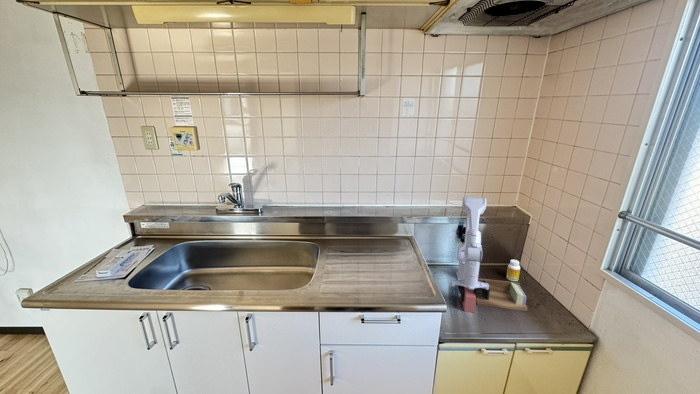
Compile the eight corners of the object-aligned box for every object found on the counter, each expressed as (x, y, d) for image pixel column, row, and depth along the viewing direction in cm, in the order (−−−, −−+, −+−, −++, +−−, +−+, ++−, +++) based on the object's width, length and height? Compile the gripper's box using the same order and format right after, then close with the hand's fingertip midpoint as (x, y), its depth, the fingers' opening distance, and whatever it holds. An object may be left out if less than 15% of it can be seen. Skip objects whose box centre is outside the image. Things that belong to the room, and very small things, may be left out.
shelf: (471, 289, 134) (472, 277, 132) (517, 294, 130) (519, 282, 128) (476, 305, 123) (478, 292, 121) (527, 310, 118) (529, 298, 117)
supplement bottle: (518, 282, 139) (521, 264, 136) (506, 280, 141) (509, 262, 139) (518, 277, 144) (520, 260, 141) (506, 274, 146) (508, 257, 143)
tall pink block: (461, 298, 127) (462, 284, 125) (470, 299, 126) (471, 285, 124) (464, 311, 119) (466, 296, 117) (474, 312, 118) (476, 298, 116)
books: (509, 292, 129) (510, 282, 128) (517, 293, 129) (519, 283, 127) (516, 304, 121) (517, 294, 120) (525, 305, 120) (527, 295, 119)
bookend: (474, 288, 132) (475, 279, 131) (484, 289, 132) (485, 280, 130) (478, 299, 125) (479, 289, 124) (488, 300, 124) (490, 290, 123)
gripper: (454, 276, 116) (451, 305, 120) (492, 280, 113) (488, 309, 117) (451, 268, 123) (449, 295, 126) (487, 271, 120) (484, 299, 123)
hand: (467, 301), depth 122 cm, fingers closed on tall pink block, 4 cm apart
